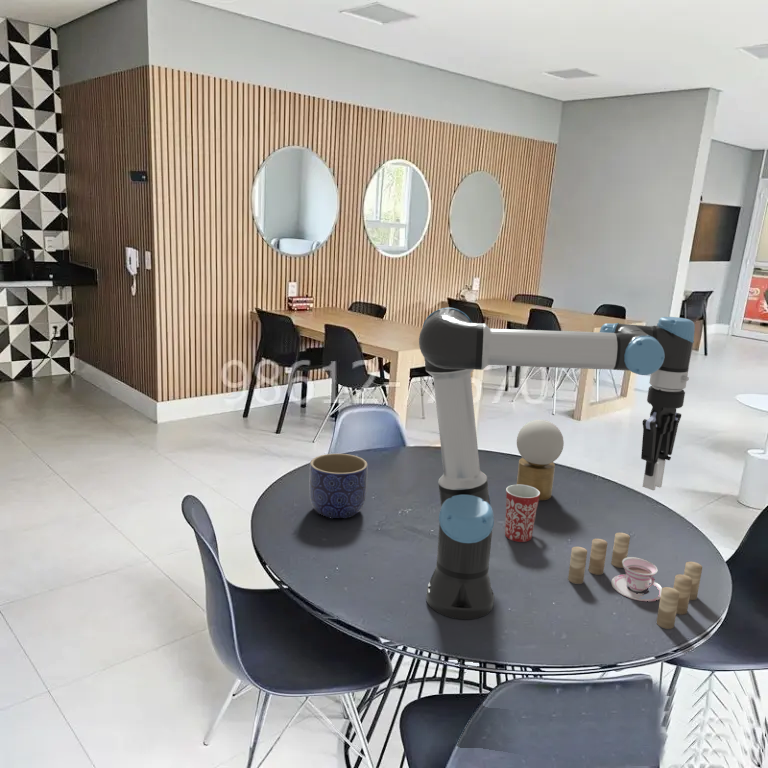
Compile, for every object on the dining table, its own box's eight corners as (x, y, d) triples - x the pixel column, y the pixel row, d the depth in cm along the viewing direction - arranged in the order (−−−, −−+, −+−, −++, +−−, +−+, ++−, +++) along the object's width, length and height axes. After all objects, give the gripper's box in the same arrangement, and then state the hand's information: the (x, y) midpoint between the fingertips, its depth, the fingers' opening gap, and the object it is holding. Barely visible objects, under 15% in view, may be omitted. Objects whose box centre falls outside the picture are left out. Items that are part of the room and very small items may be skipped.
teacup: (600, 580, 169) (603, 557, 168) (639, 573, 174) (642, 550, 172) (634, 606, 158) (638, 582, 157) (675, 598, 163) (679, 574, 161)
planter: (374, 520, 195) (376, 470, 192) (317, 527, 189) (319, 476, 186) (354, 497, 210) (356, 451, 207) (301, 503, 204) (302, 455, 201)
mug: (522, 547, 184) (527, 500, 180) (495, 535, 190) (499, 489, 187) (548, 533, 192) (553, 488, 189) (521, 522, 199) (526, 478, 195)
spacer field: (668, 631, 149) (674, 597, 147) (565, 579, 168) (568, 549, 166) (710, 601, 162) (715, 570, 160) (609, 556, 181) (613, 528, 179)
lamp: (558, 508, 210) (568, 429, 204) (511, 503, 212) (519, 425, 206) (554, 489, 224) (563, 415, 218) (510, 484, 226) (518, 411, 220)
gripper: (666, 396, 145) (650, 499, 151) (699, 387, 155) (683, 484, 161) (633, 388, 151) (619, 488, 156) (668, 380, 161) (653, 474, 166)
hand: (652, 486), depth 159 cm, fingers open, 2 cm apart
